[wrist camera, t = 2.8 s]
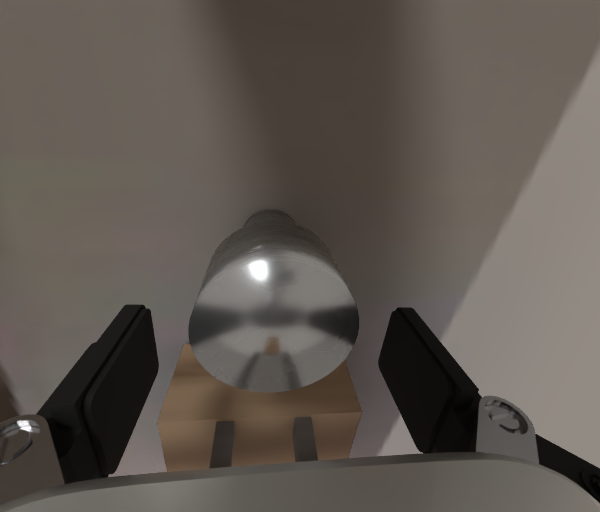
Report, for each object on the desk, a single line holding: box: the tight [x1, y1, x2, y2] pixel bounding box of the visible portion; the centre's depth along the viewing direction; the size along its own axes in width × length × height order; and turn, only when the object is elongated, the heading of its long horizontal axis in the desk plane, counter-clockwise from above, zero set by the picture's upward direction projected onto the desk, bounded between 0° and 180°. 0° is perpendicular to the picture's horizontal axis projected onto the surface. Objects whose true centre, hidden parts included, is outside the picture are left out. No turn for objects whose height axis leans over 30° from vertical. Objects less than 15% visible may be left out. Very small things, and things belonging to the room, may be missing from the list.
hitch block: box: [157, 344, 362, 472], centre depth 21 cm, size 16×12×11 cm
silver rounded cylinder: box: [189, 210, 359, 393], centre depth 14 cm, size 6×6×9 cm
